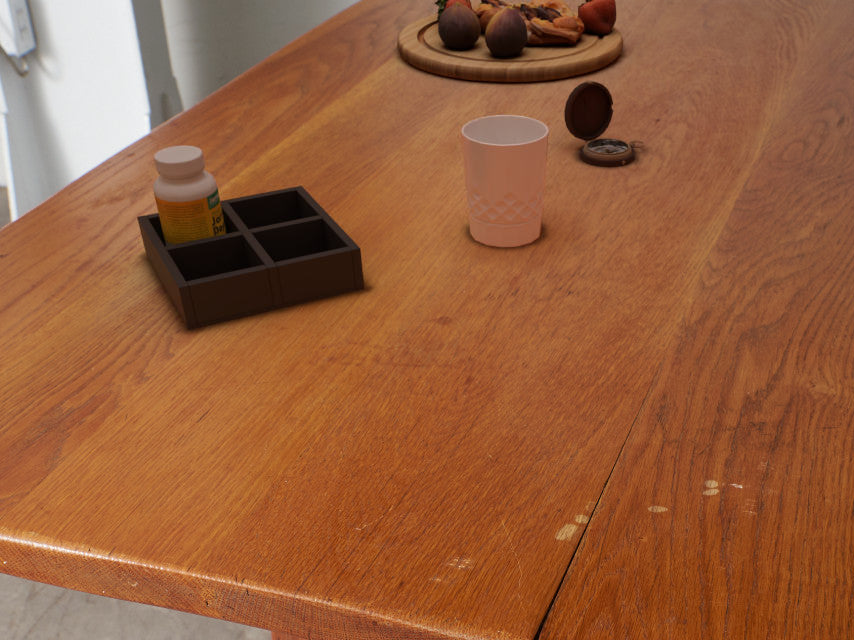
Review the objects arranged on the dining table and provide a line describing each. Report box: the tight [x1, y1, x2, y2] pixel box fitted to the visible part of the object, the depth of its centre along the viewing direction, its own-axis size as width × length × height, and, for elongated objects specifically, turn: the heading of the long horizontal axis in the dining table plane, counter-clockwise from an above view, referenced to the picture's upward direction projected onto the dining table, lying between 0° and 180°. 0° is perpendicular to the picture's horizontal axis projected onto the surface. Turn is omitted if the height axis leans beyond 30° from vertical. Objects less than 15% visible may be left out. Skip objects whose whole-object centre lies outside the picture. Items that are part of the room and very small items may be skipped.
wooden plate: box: [396, 0, 624, 83], centre depth 142 cm, size 32×32×8 cm
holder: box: [136, 185, 365, 331], centre depth 89 cm, size 15×15×4 cm
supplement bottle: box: [152, 145, 226, 246], centre depth 88 cm, size 5×5×10 cm
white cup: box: [460, 114, 550, 248], centre depth 94 cm, size 8×8×10 cm
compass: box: [563, 80, 646, 168], centre depth 111 cm, size 8×8×7 cm
